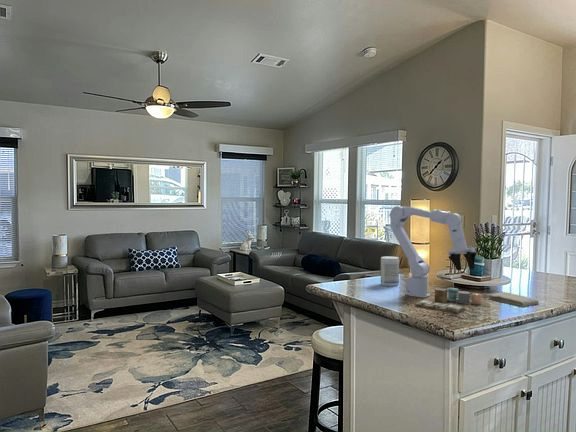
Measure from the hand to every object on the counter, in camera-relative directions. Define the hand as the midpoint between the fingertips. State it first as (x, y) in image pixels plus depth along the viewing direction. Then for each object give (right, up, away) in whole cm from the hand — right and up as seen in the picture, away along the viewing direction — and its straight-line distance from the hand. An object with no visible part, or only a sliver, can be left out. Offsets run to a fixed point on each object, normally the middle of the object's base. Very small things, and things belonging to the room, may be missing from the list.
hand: (465, 269), depth 191 cm
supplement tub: (-25, -13, +38) cm, 47 cm away
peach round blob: (+4, -15, -2) cm, 15 cm away
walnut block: (-12, -15, -1) cm, 19 cm away
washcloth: (+22, -15, +3) cm, 27 cm away
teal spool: (-4, -14, +4) cm, 16 cm away
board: (-15, -15, -10) cm, 23 cm away
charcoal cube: (-1, -15, 0) cm, 15 cm away
